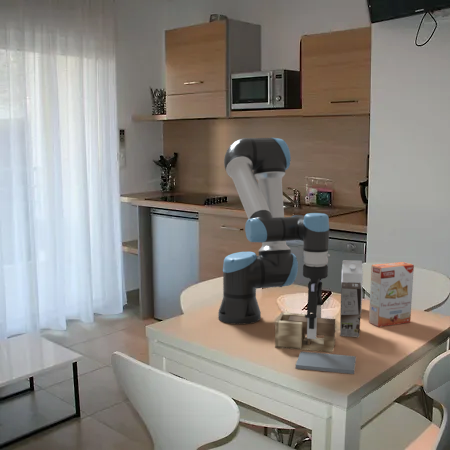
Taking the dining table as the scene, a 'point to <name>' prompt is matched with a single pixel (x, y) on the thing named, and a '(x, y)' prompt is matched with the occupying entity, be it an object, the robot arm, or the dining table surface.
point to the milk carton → (352, 273)
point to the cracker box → (391, 293)
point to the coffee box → (350, 309)
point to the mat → (326, 362)
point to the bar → (323, 325)
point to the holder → (298, 336)
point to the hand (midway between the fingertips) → (314, 331)
